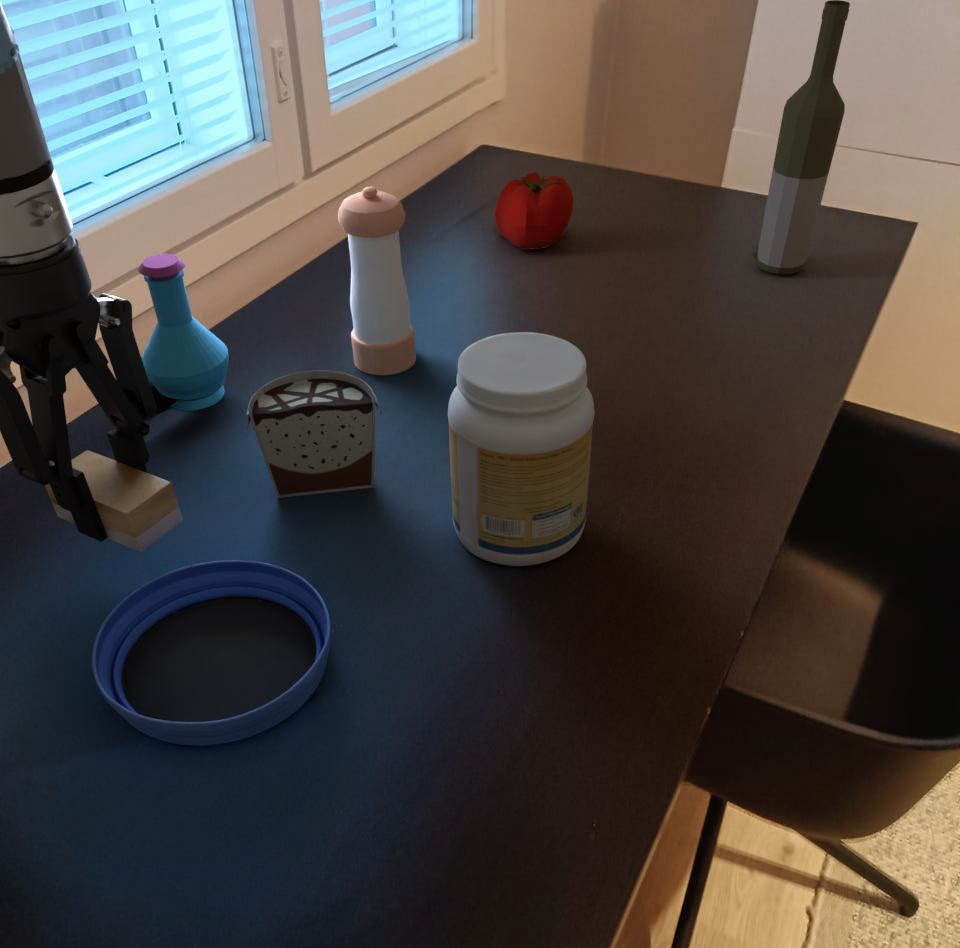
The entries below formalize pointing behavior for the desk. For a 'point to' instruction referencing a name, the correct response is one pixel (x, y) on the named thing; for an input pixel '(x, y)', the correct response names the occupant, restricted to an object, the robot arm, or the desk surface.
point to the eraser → (126, 501)
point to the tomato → (534, 210)
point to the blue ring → (213, 651)
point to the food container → (316, 432)
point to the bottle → (804, 154)
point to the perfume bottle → (181, 341)
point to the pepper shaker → (377, 283)
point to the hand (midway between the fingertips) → (118, 516)
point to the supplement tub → (520, 447)
